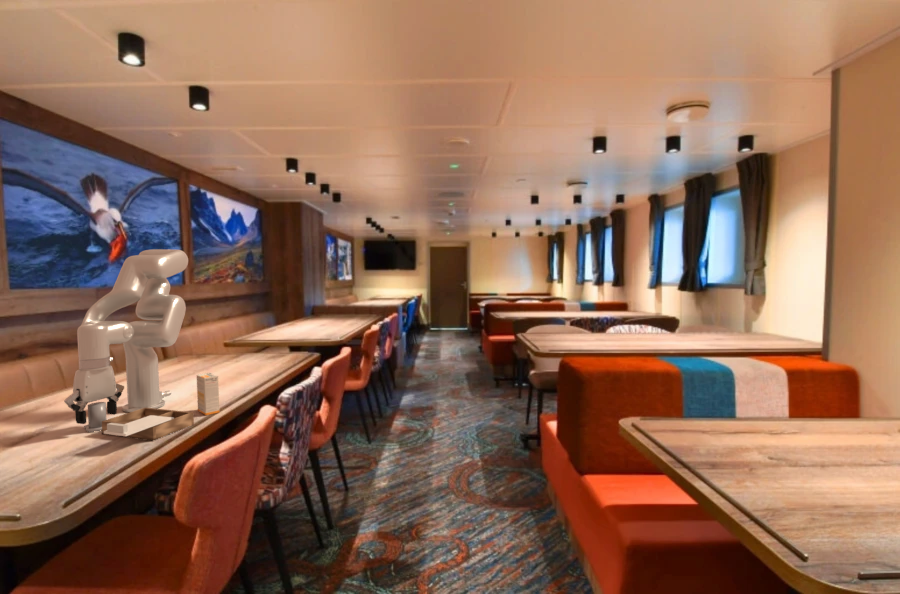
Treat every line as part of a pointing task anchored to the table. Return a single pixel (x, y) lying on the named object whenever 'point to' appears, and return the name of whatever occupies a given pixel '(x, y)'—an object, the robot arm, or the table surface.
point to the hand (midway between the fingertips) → (97, 418)
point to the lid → (135, 425)
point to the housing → (176, 423)
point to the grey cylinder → (96, 416)
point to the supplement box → (208, 393)
